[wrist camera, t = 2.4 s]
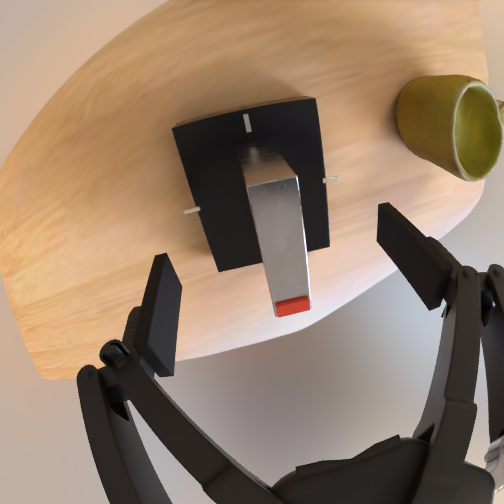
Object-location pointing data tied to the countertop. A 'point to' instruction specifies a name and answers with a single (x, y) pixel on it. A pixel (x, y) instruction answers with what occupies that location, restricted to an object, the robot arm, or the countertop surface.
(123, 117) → the countertop surface
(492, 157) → the mug
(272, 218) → the tap handle
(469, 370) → the robot arm
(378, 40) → the countertop surface
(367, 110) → the countertop surface
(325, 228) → the base
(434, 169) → the countertop surface
